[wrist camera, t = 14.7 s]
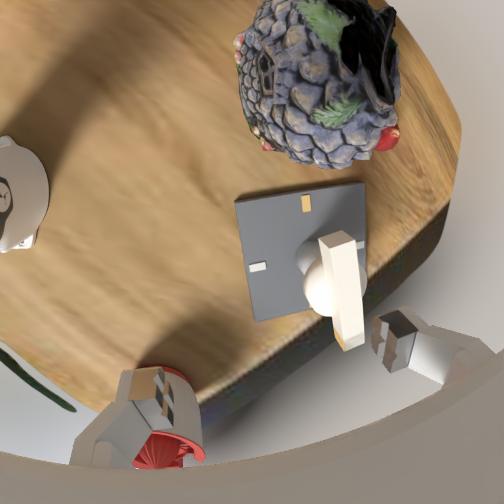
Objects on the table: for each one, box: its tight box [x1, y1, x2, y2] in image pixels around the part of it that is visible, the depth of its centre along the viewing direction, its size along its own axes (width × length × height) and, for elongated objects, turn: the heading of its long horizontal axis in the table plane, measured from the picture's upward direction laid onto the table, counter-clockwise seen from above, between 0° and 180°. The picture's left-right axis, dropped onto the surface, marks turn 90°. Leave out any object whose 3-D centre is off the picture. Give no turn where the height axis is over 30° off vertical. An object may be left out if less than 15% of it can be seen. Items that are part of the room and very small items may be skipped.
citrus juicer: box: [132, 366, 206, 469], centre depth 43 cm, size 16×17×20 cm
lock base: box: [234, 182, 366, 322], centre depth 42 cm, size 20×20×10 cm
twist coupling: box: [303, 230, 367, 351], centre depth 35 cm, size 15×8×6 cm, turn 16°
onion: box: [373, 123, 400, 151], centre depth 37 cm, size 6×6×8 cm
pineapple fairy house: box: [233, 0, 401, 170], centre depth 25 cm, size 21×15×25 cm
